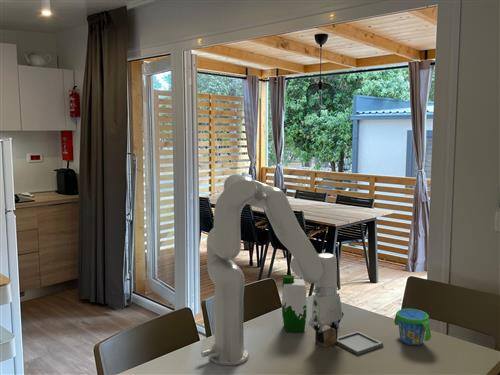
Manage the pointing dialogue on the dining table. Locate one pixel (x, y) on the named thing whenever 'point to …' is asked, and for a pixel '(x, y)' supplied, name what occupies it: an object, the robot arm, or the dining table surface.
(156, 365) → the dining table surface
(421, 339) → the snack cup
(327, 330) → the oak cube
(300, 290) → the soya milk
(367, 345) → the tray
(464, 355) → the dining table surface
